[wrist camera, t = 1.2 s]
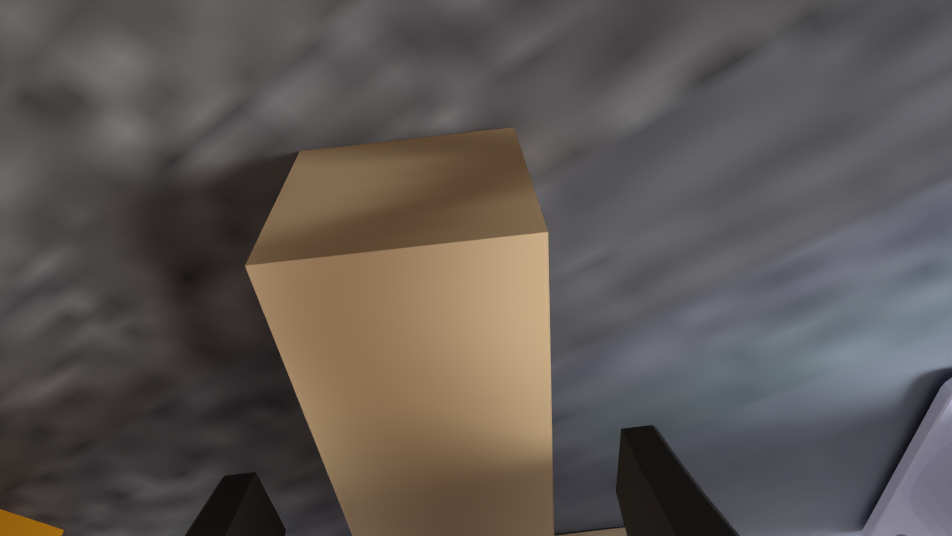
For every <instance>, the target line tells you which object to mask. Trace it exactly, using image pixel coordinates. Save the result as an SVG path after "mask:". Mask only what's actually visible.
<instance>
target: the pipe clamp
mask: <svg viewBox="0 0 952 536" xmlns="http://www.w3.org/2000/svg"><path fill="white" fill-rule="evenodd" d="M63 531H64V530H62V529H59V528H56V527H53V526H50V525H47V524H44V523H41V522H38V521H35V520H32V519H29V518H26V517H23V516H20V515H17V514H14V513H11V512H8V511H5V510H2V509H0V536H61V535H62V533H63Z"/></svg>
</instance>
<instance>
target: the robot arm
mask: <svg viewBox="0 0 952 536" xmlns="http://www.w3.org/2000/svg"><path fill="white" fill-rule="evenodd" d="M616 493H617V497H618V501H619V505H620V509H621V513H622V517H623V521H624V525H625V529H626V533H627V536H740V535H739V534H738V533H737V532H736V531H735V530H734V528H733V527H732V526H731V525H730V524H729V522H728V521H727V520H726V519H725V518H724V516H723V515H722V514H721V513H720V512H719V510H718V509H717V508H716V507H715V506H714V504H713V503H712V502H711V501H710V499H709V498H708V497H707V496H706V494H705V493H704V492H703V491H702V489H701V488H700V487H699V485H698V484H697V483H696V482H695V480H694V479H693V478H692V476H691V475H690V474H689V472H688V471H687V470H686V469H685V467H684V466H683V464H682V463H681V462H680V460H679V459H678V458H677V456H676V455H675V454H674V452H673V451H672V449H671V448H670V447H669V445H668V444H667V442H666V441H665V439H664V438H663V437H662V435H661V434H660V432H659V431H658V429H657V428H656V427H654V426H653V425H649V426H641V427H632V428H624V429H621V438H620V450H619V461H618V473H617V485H616ZM285 532H286V529H285V527H284V525H283V523H282V522H281V520H280V518H279V516H278V514H277V512H276V510H275V508H274V506H273V504H272V502H271V501H270V499H269V497H268V495H267V493H266V491H265V489H264V487H263V485H262V483H261V481H260V479H259V478H258V476H257V474H256V472H253V473H245V474H236V475H228V476H224V477H223V478H222V480H221V481H220V482H219V484H218V486H217V487H216V489H215V490H214V492H213V493H212V495H211V496H210V498H209V499H208V501H207V502H206V504H205V505H204V507H203V509H202V510H201V512H200V513H199V515H198V516H197V518H196V519H195V521H194V522H193V524H192V525H191V527H190V528H189V530H188V531H187V533H186V534H185V536H285ZM861 535H862V536H952V378H950V379H949V380H947V381H946V382H945V383H944V384H943V385H942V386H941V388H940V389H939V391H938V393H937V395H936V397H935V399H934V400H933V402H932V404H931V406H930V408H929V410H928V411H927V413H926V415H925V417H924V419H923V420H922V422H921V424H920V426H919V428H918V430H917V431H916V433H915V435H914V437H913V439H912V441H911V442H910V444H909V446H908V448H907V450H906V452H905V453H904V455H903V457H902V459H901V461H900V463H899V464H898V466H897V468H896V470H895V472H894V473H893V475H892V477H891V479H890V481H889V483H888V484H887V486H886V488H885V490H884V492H883V494H882V495H881V497H880V499H879V501H878V503H877V505H876V506H875V508H874V510H873V512H872V514H871V515H870V517H869V519H868V521H867V523H866V525H865V526H864V528H863V530H862V534H861Z"/></svg>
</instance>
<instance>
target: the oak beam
mask: <svg viewBox="0 0 952 536" xmlns="http://www.w3.org/2000/svg"><path fill="white" fill-rule="evenodd" d="M245 267H246V270H247V272H248V275H249V277H250V280H251V282H252V285H253V287H254V290H255V292H256V295H257V297H258V300H259V302H260V305H261V307H262V310H263V312H264V315H265V317H266V320H267V322H268V325H269V327H270V330H271V332H272V335H273V337H274V340H275V342H276V345H277V347H278V350H279V352H280V355H281V357H282V360H283V362H284V365H285V368H286V370H287V373H288V375H289V378H290V380H291V383H292V385H293V388H294V390H295V393H296V395H297V398H298V400H299V403H300V405H301V408H302V410H303V413H304V415H305V418H306V420H307V423H308V425H309V428H310V430H311V433H312V435H313V438H314V440H315V443H316V445H317V448H318V450H319V453H320V455H321V458H322V460H323V463H324V466H325V468H326V471H327V473H328V476H329V478H330V481H331V483H332V486H333V488H334V491H335V493H336V496H337V498H338V501H339V503H340V506H341V508H342V511H343V513H344V516H345V518H346V521H347V523H348V526H349V528H350V531H351V533H352V536H554V506H553V456H552V407H551V357H550V308H549V258H548V231H547V227H546V224H545V221H544V218H543V215H542V212H541V209H540V206H539V203H538V200H537V197H536V194H535V191H534V187H533V184H532V181H531V178H530V175H529V172H528V169H527V166H526V163H525V160H524V157H523V154H522V151H521V147H520V144H519V141H518V138H517V135H516V132H515V129H514V127H512V128H503V129H494V130H485V131H476V132H467V133H458V134H449V135H440V136H431V137H422V138H413V139H404V140H395V141H386V142H377V143H368V144H359V145H350V146H341V147H333V148H324V149H315V150H306V151H300V152H299V154H298V156H297V158H296V160H295V162H294V164H293V166H292V169H291V171H290V173H289V175H288V177H287V179H286V181H285V183H284V185H283V187H282V189H281V192H280V194H279V196H278V198H277V200H276V202H275V204H274V206H273V208H272V210H271V212H270V214H269V217H268V219H267V221H266V223H265V225H264V227H263V229H262V231H261V233H260V235H259V237H258V240H257V242H256V244H255V246H254V248H253V250H252V252H251V254H250V256H249V258H248V260H247V263H246V265H245Z"/></svg>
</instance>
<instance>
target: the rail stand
mask: <svg viewBox="0 0 952 536" xmlns="http://www.w3.org/2000/svg"><path fill="white" fill-rule="evenodd" d="M554 536H627V533H626V529H625V527H624V528H615V529H606V530H598V531H589V532H580V533H571V534H563V535H554Z"/></svg>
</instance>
